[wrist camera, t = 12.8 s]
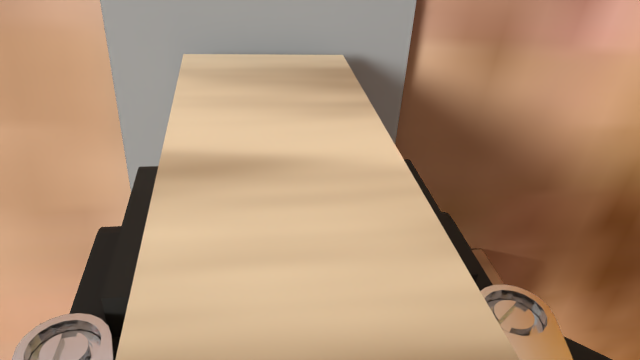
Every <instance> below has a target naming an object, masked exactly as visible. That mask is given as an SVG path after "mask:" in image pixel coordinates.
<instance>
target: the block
mask: <svg viewBox="0 0 640 360" xmlns="http://www.w3.org/2000/svg"><path fill="white" fill-rule="evenodd" d="M115 360H520V359H519V357H518V356H517V354H516V352H515V350H514V349H513V347H512V345H511V344H510V342H509V340H508V338H507V337H506V335H505V333H504V332H503V330H502V328H501V326H500V325H499V323H498V321H497V319H496V318H495V316H494V314H493V313H492V311H491V309H490V307H489V306H488V304H487V302H486V301H485V299H484V297H483V295H482V294H481V292H480V290H479V288H478V287H477V285H476V283H475V282H474V280H473V278H472V276H471V275H470V273H469V271H468V270H467V268H466V266H465V264H464V263H463V261H462V259H461V257H460V256H459V254H458V252H457V251H456V249H455V247H454V245H453V244H452V242H451V240H450V239H449V237H448V235H447V233H446V232H445V230H444V228H443V226H442V225H441V223H440V221H439V220H438V218H437V216H436V214H435V213H434V211H433V209H432V208H431V206H430V204H429V202H428V201H427V199H426V197H425V195H424V194H423V192H422V190H421V189H420V187H419V185H418V183H417V182H416V180H415V178H414V177H413V175H412V173H411V171H410V170H409V168H408V166H407V164H406V163H405V161H404V159H403V158H402V156H401V154H400V152H399V151H398V149H397V147H396V146H395V144H394V142H393V140H392V139H391V137H390V135H389V133H388V132H387V130H386V128H385V127H384V125H383V123H382V121H381V120H380V118H379V116H378V115H377V113H376V111H375V109H374V108H373V106H372V104H371V102H370V101H369V99H368V97H367V96H366V94H365V92H364V90H363V89H362V87H361V85H360V84H359V82H358V80H357V78H356V77H355V75H354V73H353V71H352V70H351V68H350V66H349V65H348V63H347V61H346V59H345V58H344V56H343V55H274V54H183V58H182V63H181V67H180V72H179V76H178V81H177V85H176V90H175V94H174V99H173V103H172V108H171V112H170V117H169V121H168V126H167V130H166V135H165V139H164V144H163V148H162V153H161V157H160V162H159V166H158V170H157V175H156V179H155V184H154V188H153V193H152V197H151V202H150V206H149V211H148V215H147V220H146V224H145V229H144V233H143V238H142V242H141V247H140V251H139V256H138V260H137V265H136V269H135V274H134V278H133V283H132V287H131V292H130V296H129V301H128V305H127V310H126V314H125V319H124V323H123V328H122V332H121V337H120V341H119V346H118V350H117V355H116V359H115Z"/></svg>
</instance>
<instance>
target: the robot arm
mask: <svg viewBox="0 0 640 360" xmlns="http://www.w3.org/2000/svg"><path fill="white" fill-rule="evenodd" d="M404 161H405V163H406V164H407V166H408V168H409V170H410V171H411V173H412V175H413V177H414V178H415V180H416V182H417V183H418V185H419V187H420V189H421V190H422V192H423V194H424V195H425V197H426V199H427V201H428V202H429V204H430V206H431V208H432V209H433V211H434V213H435V214H436V216H437V218H438V220H439V221H440V223H441V225H442V226H443V228H444V230H445V232H446V233H447V235H448V237H449V239H450V240H451V242H452V244H453V245H454V247H455V249H456V251H457V252H458V254H459V256H460V257H461V259H462V261H463V263H464V264H465V266H466V268H467V270H468V271H469V273H470V275H471V276H472V278H473V280H474V282H475V283H476V285H477V287H478V288H479V290H480V292H481V294H482V295H483V297H484V299H485V301H486V302H487V304H488V306H489V307H490V309H491V311H492V313H493V314H494V316H495V318H496V319H497V321H498V323H499V325H500V326H501V328H502V330H503V332H504V333H505V335H506V337H507V338H508V340H509V342H510V344H511V345H512V347H513V349H514V350H515V352H516V354H517V356H518V357H519V359H520V360H612V359H610V358H608V357H606V356H604V355H601V354H599V353H597V352H595V351H593V350H591V349H589V348H587V347H585V346H583V345H581V344H579V343H576V342H574V341H572V340H570V339H568V338H566V337H564V336H563V334H562V332H561V329H560V327H559V324H558V322H557V320H556V317H555V315H554V314H553V312H552V310H551V309H550V307H549V306H548V305H547V304H546V303H545V302H544V301H543V300H542V299H541V298H539V297H538V296H536V295H534V294H533V293H531V292H529V291H527V290H524V289H522V288H519V287H516V286H510V285H493V284H492V282H491V281H490V279H489V278H488V276H487V274H486V273H485V271H484V269H483V268H482V266H481V265H480V263H479V261H478V260H477V258H476V256H475V255H474V253H473V252H472V250H471V248H470V247H469V245H468V244H467V242H466V240H465V239H464V237H463V235H462V234H461V232H460V231H459V229H458V227H457V226H456V224H455V222H454V221H453V219H452V218H451V216H450V215H449V214H448V213H445V212H441V211H440V209H439V208H438V206H437V204H436V203H435V201H434V199H433V198H432V196H431V194H430V193H429V191H428V189H427V188H426V186H425V184H424V183H423V181H422V179H421V178H420V176H419V174H418V173H417V171H416V169H415V168H414V166H413V164H412V163H411V161H410V160H408V159H405V160H404ZM157 170H158V166H145V167H139V168H138V171H137V174H136V178H135V181H134V185H133V188H132V192H131V195H130V199H129V202H128V206H127V209H126V213H125V216H124V220H123V223H122V226H118V227H101V228H100V229H99V231H98V233H97V235H96V238H95V241H94V244H93V247H92V250H91V253H90V256H89V259H88V261H87V264H86V267H85V270H84V273H83V276H82V279H81V282H80V285H79V288H78V291H77V293H76V296H75V299H74V302H73V305H72V308H71V311H70V314H66V315H62V316H59V317H55V318H52V319H49V320H47V321H46V322H44V323H42V324H40V325H38V326H36V327H35V328H34V329H33V330H31V331H30V332H29V333H28V334H26V335H25V336H24V337H23V339H22V340H21V341H20V343H19V344H18V345H17V347H16V349H15V352H14V355H13V358H12V360H115V359H116V355H117V350H118V346H119V341H120V337H121V332H122V328H123V323H124V319H125V314H126V310H127V305H128V301H129V296H130V292H131V287H132V283H133V278H134V274H135V269H136V265H137V260H138V256H139V251H140V247H141V242H142V238H143V233H144V229H145V224H146V220H147V215H148V211H149V206H150V202H151V197H152V193H153V188H154V184H155V179H156V175H157Z"/></svg>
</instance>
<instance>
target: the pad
mask: <svg viewBox="0 0 640 360" xmlns="http://www.w3.org/2000/svg"><path fill="white" fill-rule="evenodd" d="M100 2H101V9H102V15H103V21H104V27H105V33H106V39H107V46H108V52H109V58H110V64H111V70H112V77H113V83H114V89H115V95H116V101H117V107H118V114H119V120H120V126H121V132H122V138H123V145H124V151H125V157H126V163H127V169H128V175H129V182H130V188H131V192H132V188H133V185H134V181H135V178H136V174H137V171H138V168H139V167H145V166H159V162H160V157H161V153H162V148H163V144H164V139H165V135H166V130H167V126H168V121H169V117H170V112H171V108H172V103H173V99H174V94H175V90H176V85H177V81H178V76H179V72H180V67H181V63H182V58H183V54H274V55H343V56H344V58H345V59H346V61H347V63H348V65H349V66H350V68H351V70H352V71H353V73H354V75H355V77H356V78H357V80H358V82H359V84H360V85H361V87H362V89H363V90H364V92H365V94H366V96H367V97H368V99H369V101H370V102H371V104H372V106H373V108H374V109H375V111H376V113H377V115H378V116H379V118H380V120H381V121H382V123H383V125H384V127H385V128H386V130H387V132H388V133H389V135H390V137H391V139H392V140H393V142H394V144H395V142H396V135H397V129H398V122H399V115H400V108H401V102H402V95H403V88H404V81H405V75H406V68H407V61H408V54H409V48H410V41H411V34H412V27H413V21H414V14H415V7H416V0H100Z"/></svg>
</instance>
